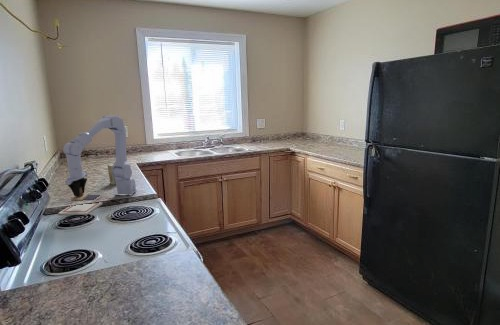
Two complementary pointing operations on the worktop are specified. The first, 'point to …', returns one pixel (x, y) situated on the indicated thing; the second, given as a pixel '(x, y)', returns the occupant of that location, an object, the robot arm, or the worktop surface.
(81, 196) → the stamp
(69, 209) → the marked board
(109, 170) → the skincare box
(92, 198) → the ink pad
